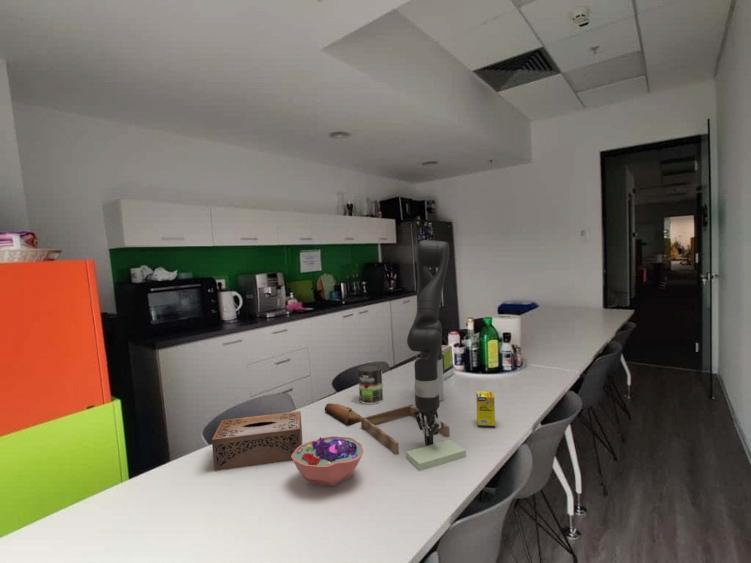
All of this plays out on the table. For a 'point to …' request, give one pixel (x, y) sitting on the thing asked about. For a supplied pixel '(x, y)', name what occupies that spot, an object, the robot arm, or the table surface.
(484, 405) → the supplement box
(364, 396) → the coffee can
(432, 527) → the table surface
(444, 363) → the tea box
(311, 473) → the cell model
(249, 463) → the tissue box cover
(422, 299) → the robot arm
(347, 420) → the sunglasses case
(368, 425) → the open wooden frame
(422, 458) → the cover plate
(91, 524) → the table surface
